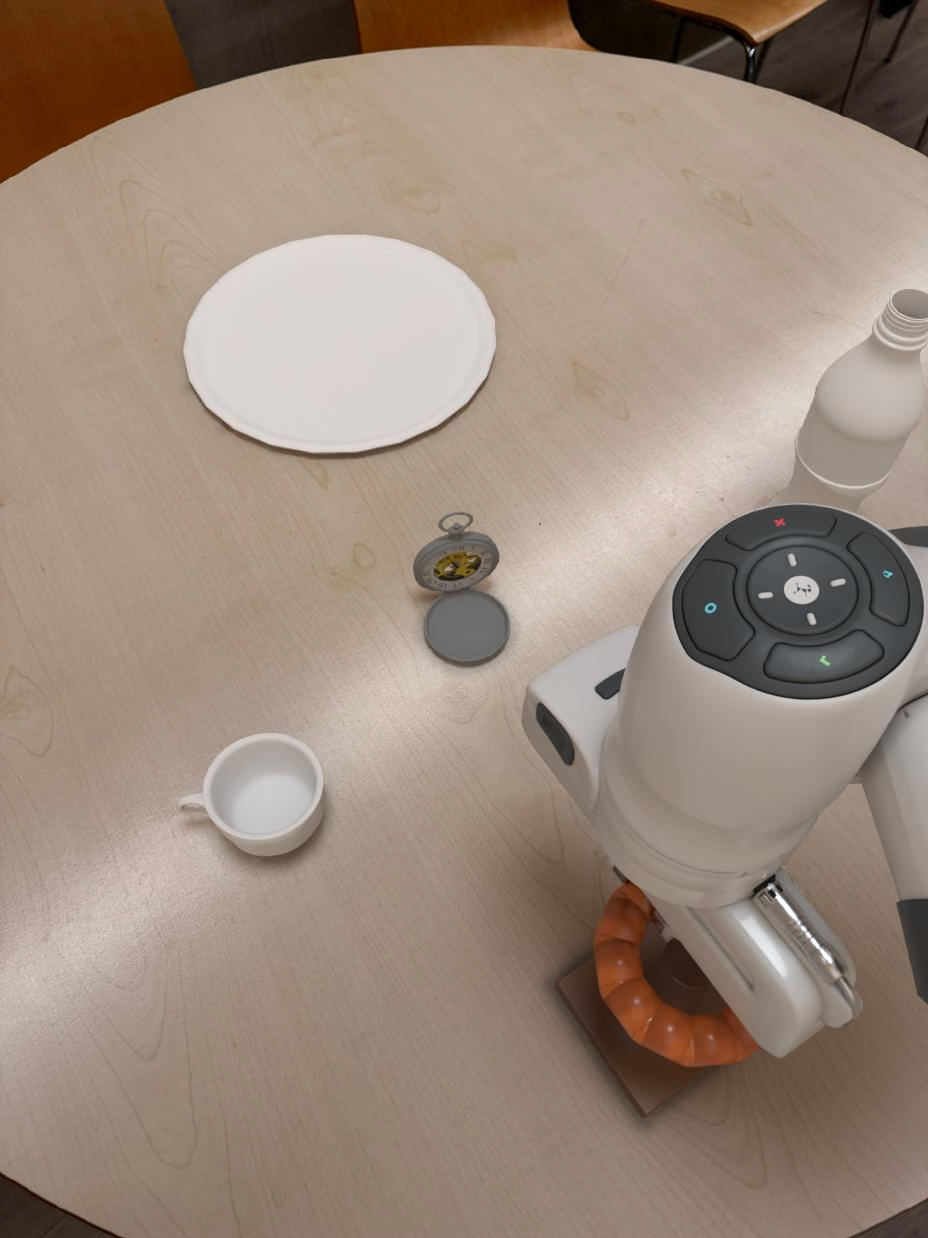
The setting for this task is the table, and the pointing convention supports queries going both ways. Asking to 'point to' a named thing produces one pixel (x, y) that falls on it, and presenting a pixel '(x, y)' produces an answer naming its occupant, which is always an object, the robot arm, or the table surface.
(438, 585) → the pocket watch
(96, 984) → the table surface
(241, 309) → the plate
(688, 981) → the stand
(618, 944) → the orange beaded ring
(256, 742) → the teacup
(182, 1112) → the table surface
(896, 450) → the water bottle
